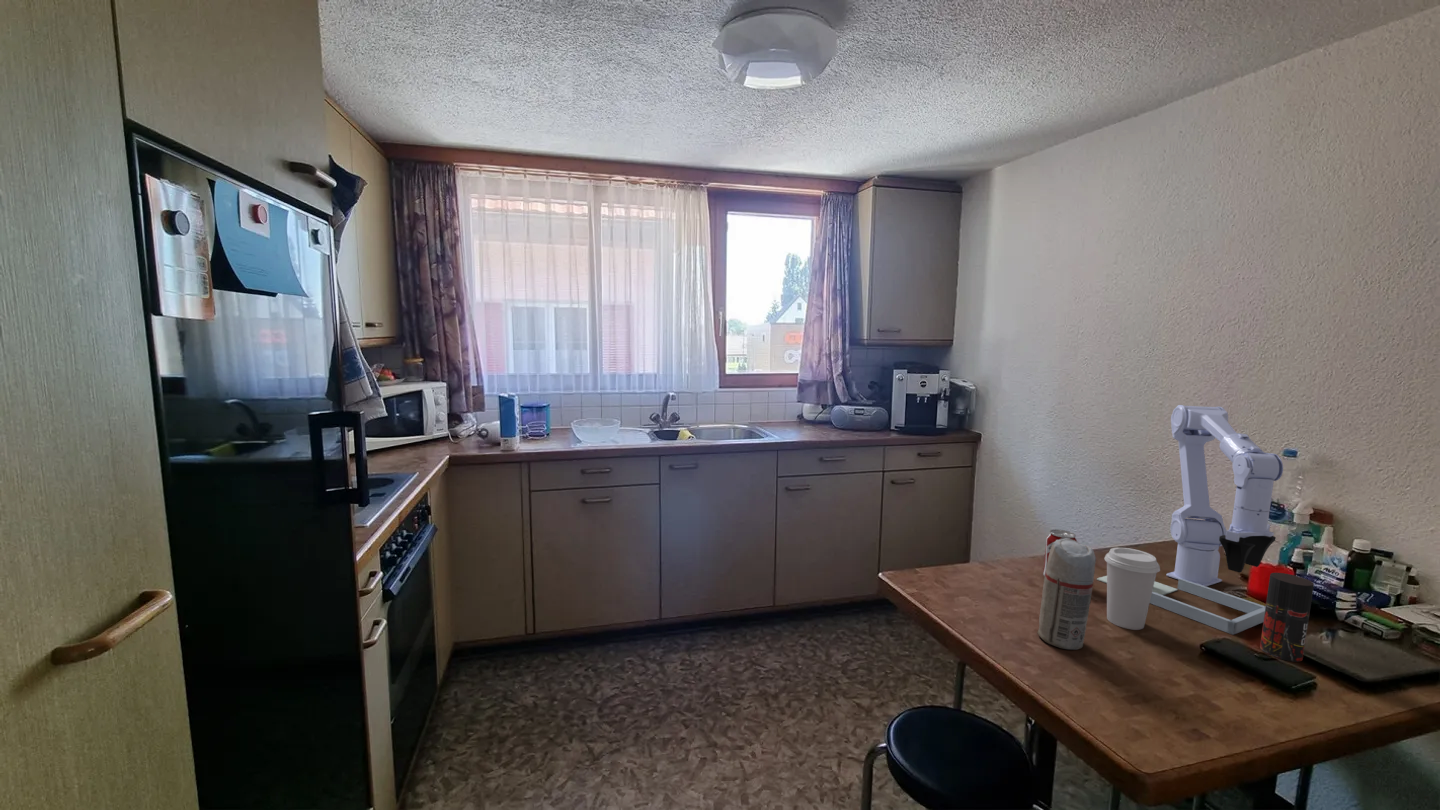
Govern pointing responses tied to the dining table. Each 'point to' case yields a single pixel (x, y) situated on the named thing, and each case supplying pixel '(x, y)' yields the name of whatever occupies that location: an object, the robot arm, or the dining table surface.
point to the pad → (1157, 587)
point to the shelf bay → (1210, 619)
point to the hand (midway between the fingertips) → (1243, 568)
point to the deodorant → (1286, 616)
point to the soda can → (1052, 538)
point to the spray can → (1067, 594)
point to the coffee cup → (1129, 586)
